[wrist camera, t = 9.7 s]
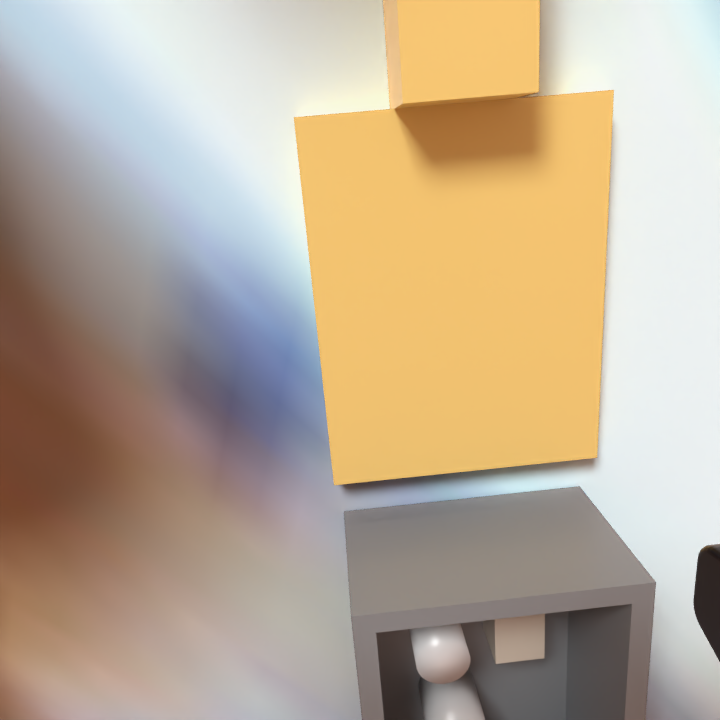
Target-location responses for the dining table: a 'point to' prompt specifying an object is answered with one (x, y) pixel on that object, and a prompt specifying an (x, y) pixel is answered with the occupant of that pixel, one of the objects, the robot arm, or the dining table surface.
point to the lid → (459, 252)
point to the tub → (498, 610)
